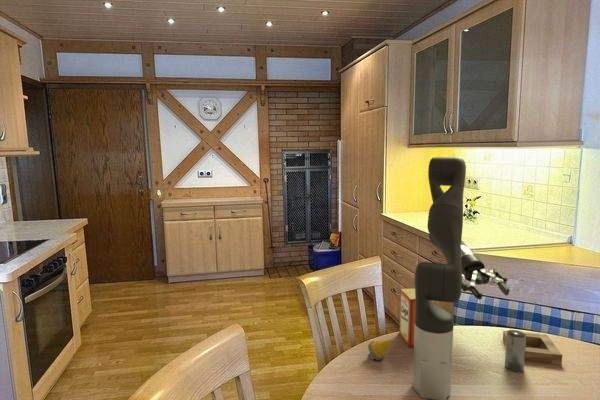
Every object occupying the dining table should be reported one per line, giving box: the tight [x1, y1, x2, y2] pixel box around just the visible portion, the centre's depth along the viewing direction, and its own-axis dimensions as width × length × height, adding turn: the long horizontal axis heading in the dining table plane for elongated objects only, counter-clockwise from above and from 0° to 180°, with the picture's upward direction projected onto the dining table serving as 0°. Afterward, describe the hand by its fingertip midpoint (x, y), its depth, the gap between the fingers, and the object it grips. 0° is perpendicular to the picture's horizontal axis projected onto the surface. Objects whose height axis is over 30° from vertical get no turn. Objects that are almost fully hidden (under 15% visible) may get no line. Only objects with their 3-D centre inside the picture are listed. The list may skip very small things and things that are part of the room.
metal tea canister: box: [504, 329, 527, 374], centre depth 109 cm, size 5×5×10 cm
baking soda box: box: [398, 287, 432, 349], centre depth 125 cm, size 10×6×16 cm
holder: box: [502, 330, 563, 366], centre depth 118 cm, size 12×12×3 cm
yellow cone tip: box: [367, 339, 393, 361], centre depth 114 cm, size 5×5×10 cm
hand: (494, 295), depth 117 cm, fingers open, 8 cm apart
